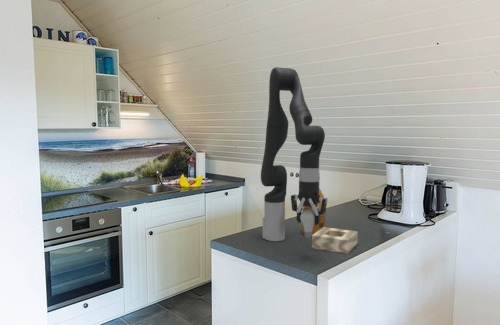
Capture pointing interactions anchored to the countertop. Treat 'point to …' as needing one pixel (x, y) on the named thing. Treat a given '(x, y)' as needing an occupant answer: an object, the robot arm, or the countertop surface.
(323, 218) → the coffee package
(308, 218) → the lightbulb
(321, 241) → the block
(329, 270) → the countertop surface
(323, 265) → the countertop surface
